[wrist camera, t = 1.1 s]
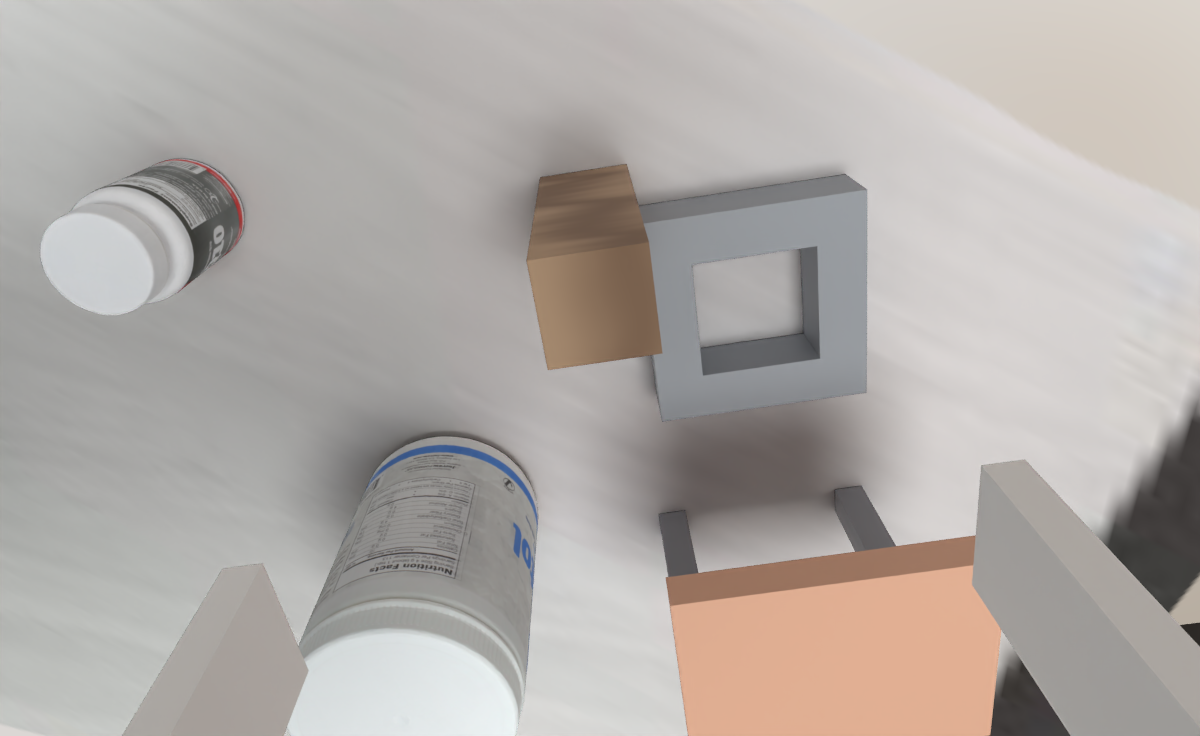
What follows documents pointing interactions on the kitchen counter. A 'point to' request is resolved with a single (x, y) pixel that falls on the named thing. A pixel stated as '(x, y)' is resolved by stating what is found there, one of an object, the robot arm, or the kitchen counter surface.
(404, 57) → the kitchen counter surface
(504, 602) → the supplement tub
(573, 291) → the peg
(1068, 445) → the kitchen counter surface
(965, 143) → the kitchen counter surface
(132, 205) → the pill bottle
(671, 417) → the socket block
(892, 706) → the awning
